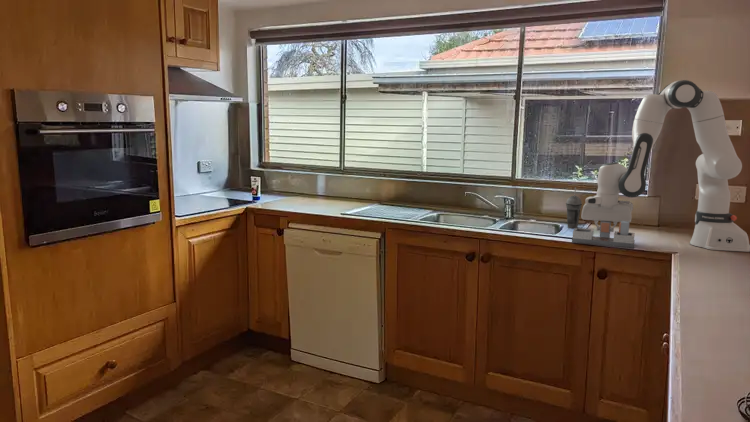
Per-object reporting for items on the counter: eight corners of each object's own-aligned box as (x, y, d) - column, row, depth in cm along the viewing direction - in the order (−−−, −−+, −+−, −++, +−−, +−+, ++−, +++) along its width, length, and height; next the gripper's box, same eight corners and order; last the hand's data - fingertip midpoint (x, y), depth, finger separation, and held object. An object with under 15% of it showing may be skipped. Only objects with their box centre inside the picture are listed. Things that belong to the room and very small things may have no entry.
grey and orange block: (609, 238, 236) (610, 221, 235) (609, 240, 233) (610, 222, 232) (599, 238, 238) (601, 220, 237) (599, 239, 235) (600, 221, 234)
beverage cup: (578, 226, 266) (580, 186, 262) (582, 229, 258) (584, 187, 255) (563, 225, 266) (565, 185, 263) (566, 228, 259) (569, 187, 256)
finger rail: (634, 244, 225) (635, 232, 224) (633, 248, 218) (634, 236, 217) (574, 239, 236) (574, 227, 235) (571, 242, 229) (572, 231, 228)
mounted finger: (628, 240, 224) (629, 221, 223) (627, 242, 221) (629, 223, 219) (618, 239, 226) (619, 220, 225) (618, 241, 222) (619, 222, 221)
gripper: (633, 200, 231) (631, 231, 233) (583, 197, 240) (581, 227, 243) (633, 202, 226) (631, 234, 228) (581, 199, 235) (579, 230, 237)
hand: (605, 231), depth 235 cm, fingers closed on grey and orange block, 4 cm apart
